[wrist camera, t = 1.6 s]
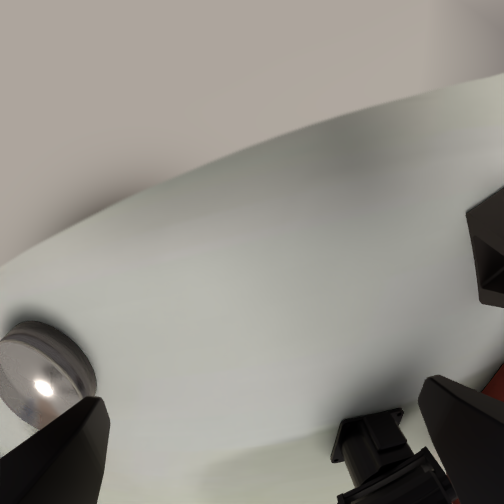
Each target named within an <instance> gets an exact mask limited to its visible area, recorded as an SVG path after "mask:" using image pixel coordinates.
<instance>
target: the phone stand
mask: <svg viewBox="0 0 504 504" xmlns="http://www.w3.org/2000/svg"><path fill="white" fill-rule="evenodd" d="M466 218H467V223H468V228H469V233H470V238H471V244H472V249H473V255H474V259H475V261H476V262H475V269H476V276H477V284H478V293H479V301H480V302H481V303H482V304H485V305H491V306H496V307H501V308H504V188H503V189H502V190H500V191H499V192H497V193H496V194H494V195H493V196H492V197H490V198H489V199H487V200H486V201H484V202H483V203H481V204H480V205H478V206H477V207H475V208H474V209H472V210H471V211H469V212H468V213H466Z"/></svg>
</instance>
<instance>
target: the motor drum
mask: <svg viewBox="0 0 504 504" xmlns="http://www.w3.org/2000/svg"><path fill="white" fill-rule="evenodd" d="M96 387H97V384H96V378H95V374H94V371H93V368H92V366H91V364H90V362H89V361H88V359H87V357H86V356H85V355H84V353H83V352H82V351H81V349H80V348H79V347H78V346H77V345H76V344H75V343H74V342H73V341H72V340H71V339H70V338H68V337H67V336H66V335H65V334H63V333H62V332H60V331H59V330H57V329H55V328H54V327H52V326H49V325H47V324H44V323H41V322H36V321H26V322H22V323H19V324H18V325H16V326H15V327H14V328H13V329H12V330H11V331H10V332H9V333H8V334H7V335H6V336H5V337H4V338H3V339H2V340H1V341H0V397H1V399H2V400H3V401H4V402H5V404H6V405H7V406H8V407H9V408H10V409H11V410H12V411H13V412H14V413H15V414H16V415H17V416H19V417H20V418H21V419H22V420H24V421H25V422H27V423H28V424H30V425H32V426H33V427H35V428H37V429H39V430H41V429H42V428H43V427H45V426H46V425H48V424H49V423H50V422H52V421H53V420H54V419H56V418H57V417H59V416H60V415H61V414H63V413H64V412H65V411H67V410H68V409H69V408H71V407H72V406H73V405H75V404H76V403H78V402H79V401H80V400H82V399H83V398H84V397H86V396H95V393H96Z"/></svg>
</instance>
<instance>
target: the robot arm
mask: <svg viewBox="0 0 504 504" xmlns="http://www.w3.org/2000/svg"><path fill="white" fill-rule="evenodd" d="M418 405H419V408H420V410H421V413H422V416H423V418H424V421H425V424H426V426H427V429H428V432H429V435H430V437H431V440H432V443H433V445H434V447H435V449H436V451H437V453H438V456H439V458H440V460H441V462H442V464H443V466H444V468H445V470H446V472H447V475H448V477H449V479H450V480H449V479H448V477H447V475H446V474H445V472H444V471H443V469H442V468H441V467H440V465H439V464H438V462H437V461H436V460H435V458H434V457H433V455H432V454H431V453H430V451H429V450H428V448H427V447H426V446H425V447H424V448H422V449H421V451H419V452H418V453H416V454H415V455H414V453H413V452H412V450H411V448H410V447H409V445H408V443H407V439H406V438H405V436H404V434H403V433H402V431H401V430H400V428H399V424H400V421H401V419H402V416H403V414H404V411H403V410H402V408H398V409H394V410H389V411H385V412H381V413H376V414H371V415H367V416H361V417H356V418H351V419H346V420H343V421H342V422H341V424H340V427H339V431H338V435H337V438H336V442H335V445H334V449H333V452H332V455H331V462H332V463H338V462H343V461H345V463H346V466H347V469H348V471H349V474H350V476H351V479H352V481H353V484H354V486H355V488H354V489H352V490H350V491H348V492H346V493H344V494H343V493H342V494H340V495H338V496H337V500H338V503H337V504H452V502H453V501H455V500H456V499H459V501H460V504H504V402H502V401H500V400H497V399H495V398H492V397H490V396H488V395H485V394H483V393H480V392H478V391H476V390H473V389H471V388H469V387H466V386H464V385H462V384H459V383H457V382H455V381H452V380H450V379H448V378H446V377H443V376H441V375H433V376H429V377H427V378H426V379H425V381H424V384H423V387H422V389H421V392H420V394H419V397H418ZM109 431H110V418H109V415H108V413H107V410H106V407H105V404H104V401H103V399H102V398H101V397H97V396H86V397H84V398H83V399H82V400H80V401H79V402H78V403H76V404H75V405H73V406H72V407H71V408H69V409H68V410H67V411H65V412H64V413H63V414H61V415H60V416H59V417H57V418H56V419H54V420H53V421H52V422H50V423H49V424H48V425H46V426H45V427H43V428H42V429H41V430H39V431H38V432H37V433H35V434H34V435H32V436H31V437H30V438H28V439H27V440H25V441H24V442H23V443H21V444H20V445H19V446H17V447H16V448H14V449H13V450H12V451H10V452H9V453H7V454H6V455H5V456H3V457H2V458H0V504H97V500H98V496H99V492H100V487H101V483H102V479H103V474H104V468H105V461H106V453H107V445H108V438H109ZM450 481H451V482H450ZM451 483H452V484H451Z"/></svg>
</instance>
